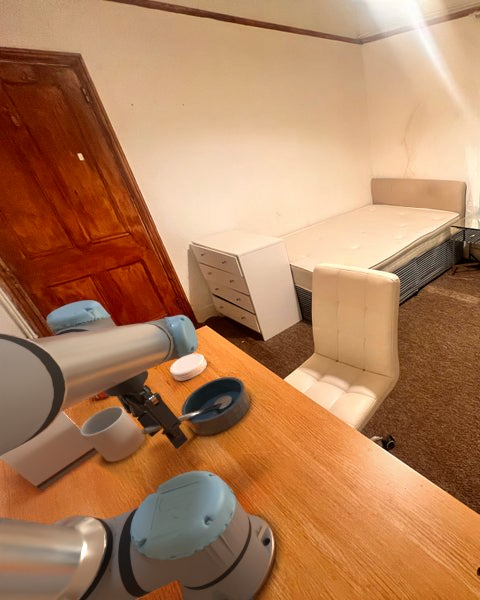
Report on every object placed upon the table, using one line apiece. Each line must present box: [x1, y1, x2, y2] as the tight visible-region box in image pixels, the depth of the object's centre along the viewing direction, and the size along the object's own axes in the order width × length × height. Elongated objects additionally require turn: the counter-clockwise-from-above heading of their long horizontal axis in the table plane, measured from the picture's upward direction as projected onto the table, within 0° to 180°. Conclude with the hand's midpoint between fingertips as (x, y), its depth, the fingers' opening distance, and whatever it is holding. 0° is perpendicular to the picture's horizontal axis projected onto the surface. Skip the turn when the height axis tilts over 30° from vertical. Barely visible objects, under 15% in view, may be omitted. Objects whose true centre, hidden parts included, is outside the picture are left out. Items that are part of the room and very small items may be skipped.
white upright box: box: [0, 410, 99, 492], centre depth 69 cm, size 11×11×35 cm
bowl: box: [180, 376, 251, 436], centre depth 87 cm, size 16×16×6 cm
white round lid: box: [169, 353, 208, 382], centre depth 103 cm, size 10×10×4 cm
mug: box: [80, 405, 146, 463], centre depth 78 cm, size 12×8×11 cm
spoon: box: [141, 396, 234, 435], centre depth 80 cm, size 20×5×12 cm, turn 157°
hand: (168, 437), depth 75 cm, fingers open, 9 cm apart
